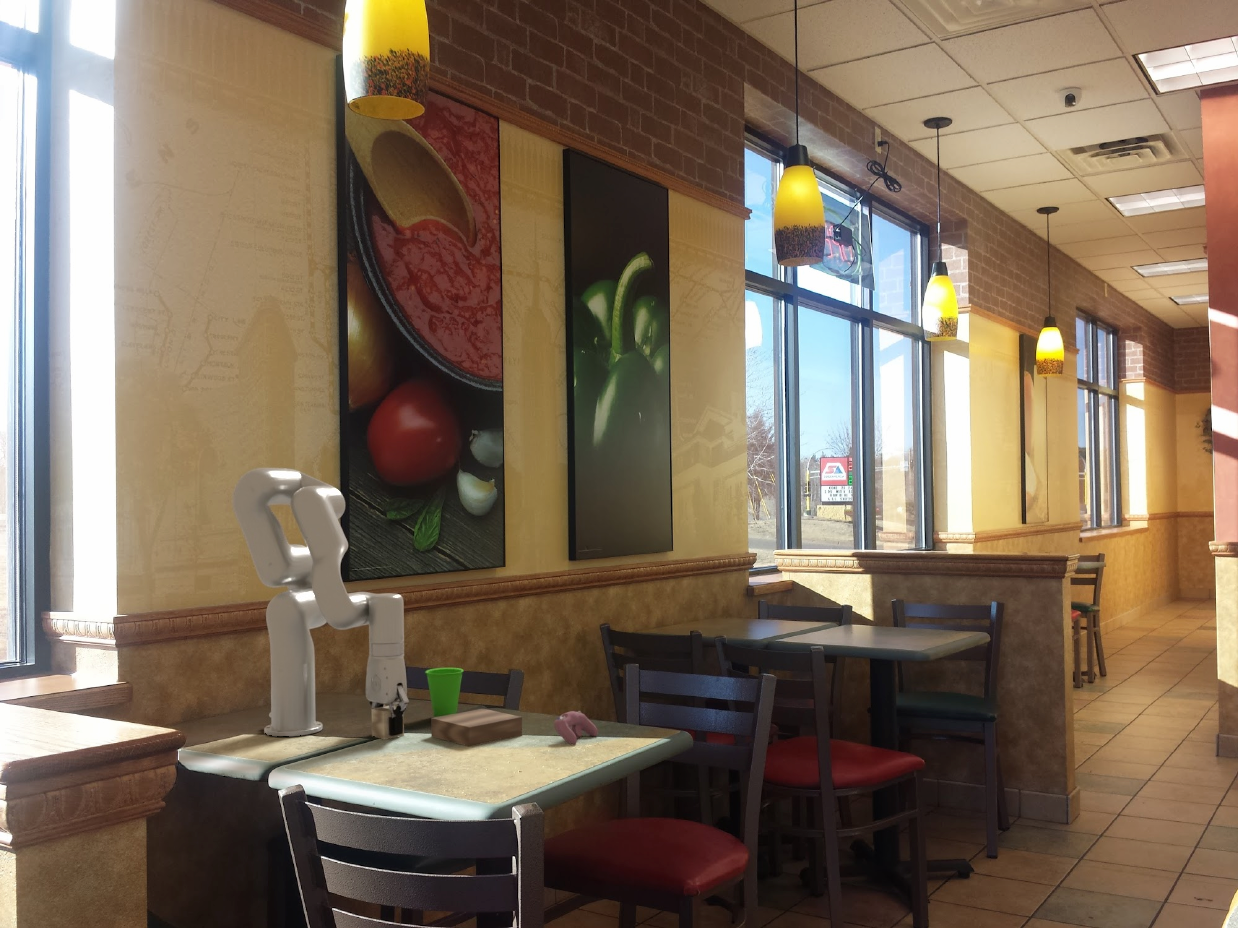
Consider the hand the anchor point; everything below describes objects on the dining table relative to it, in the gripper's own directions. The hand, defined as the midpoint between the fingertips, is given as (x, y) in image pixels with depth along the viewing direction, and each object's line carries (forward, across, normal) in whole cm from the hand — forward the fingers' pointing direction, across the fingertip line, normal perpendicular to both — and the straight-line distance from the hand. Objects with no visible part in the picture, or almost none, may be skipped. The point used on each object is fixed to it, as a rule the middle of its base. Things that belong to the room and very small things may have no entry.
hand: (387, 731), depth 242 cm
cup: (+1, -7, +20) cm, 21 cm away
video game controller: (+1, +33, +26) cm, 42 cm away
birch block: (+1, 0, 0) cm, 1 cm away
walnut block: (+1, +15, +13) cm, 20 cm away
